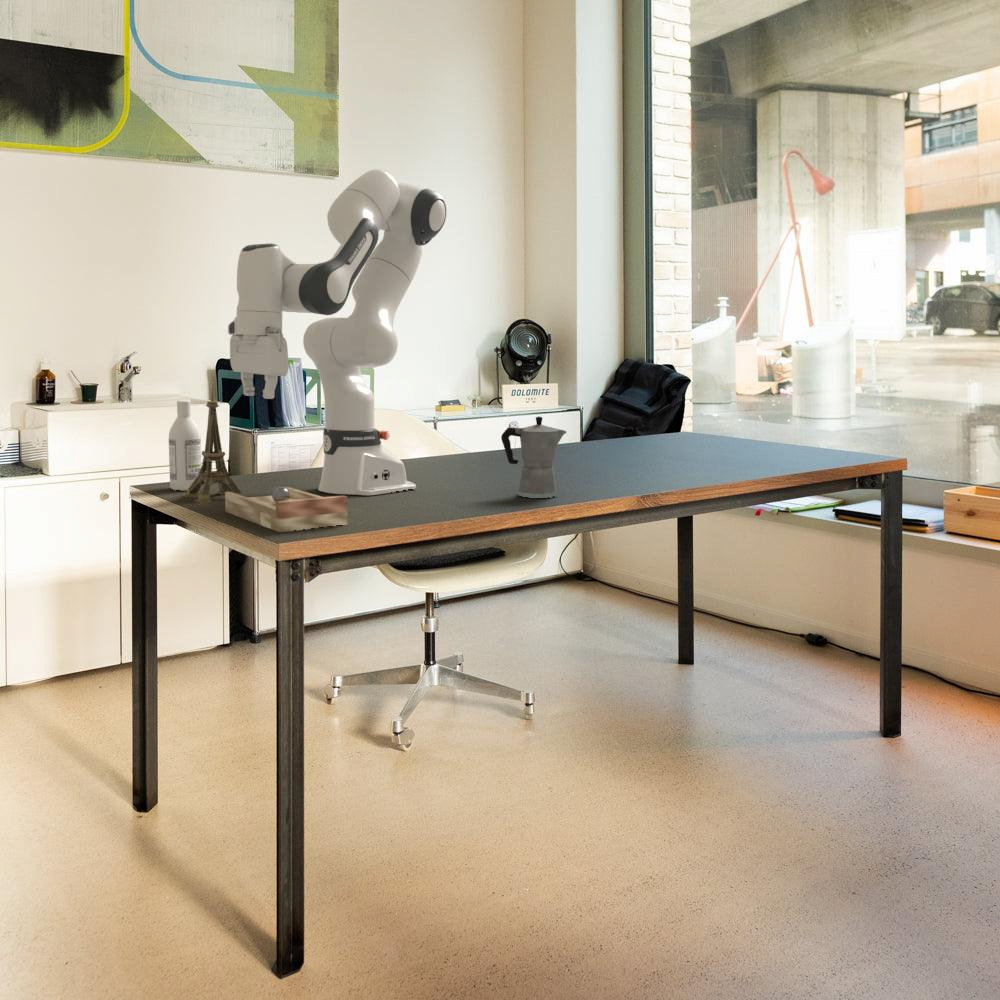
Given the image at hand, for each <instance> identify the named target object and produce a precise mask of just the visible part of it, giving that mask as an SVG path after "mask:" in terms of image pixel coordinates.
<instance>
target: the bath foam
mask: <svg viewBox="0 0 1000 1000" xmlns="http://www.w3.org/2000/svg"><path fill="white" fill-rule="evenodd" d="M191 409H192V407H191V400H187V399H186V400H183V399H182V400H181V399H180V400H177V401H176V413H177V416H176V418H175V420H174V422H172V425H171V427H170V430H169V433H168V460H169V461H168V462H169V464H168V466H169V487H170V489H171V490H172V489H173V490H172V491H176V490H180V491H179V492H187V490H188V489H189V487H190V486H191V484H192V483H193V482H194V480H195V479H196V478H197V476H198V475H199V473H198V471H200V469H201V467H202V437H201V432H200V429H199V427H198V425H197V423H196V422H195V420H194V419H193V418H192V411H191ZM202 488H203V486H202V487H201V488H200V490H202Z"/></svg>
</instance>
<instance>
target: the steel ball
mask: <svg viewBox="0 0 1000 1000" xmlns="http://www.w3.org/2000/svg"><path fill="white" fill-rule="evenodd" d="M285 487H286V486H278V487H276V488H275V489H274V490H273V491H272V493H271V496H272V498H273V501H274V502H275V503H276V501H287V500H289V499H290V492H289V491H288V489H286V488H285Z"/></svg>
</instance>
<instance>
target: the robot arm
mask: <svg viewBox="0 0 1000 1000" xmlns="http://www.w3.org/2000/svg"><path fill="white" fill-rule="evenodd" d="M326 217H327V218H326V219H327V226H328V228H329V231H330V232H331V234H332V236H333V238H334V239H335V240H336V241H337V242H338V243H339V244H340V245H339V247H338V248H337V250H336V252H335V253H334V254H333V256H332V257H331V258H330V259H328V260H326V261H324V262H318V263H296V262H295V261H293V260H292V259H290V258H288V257H287V256H286V255H285V254H284V252H282V251H281V248H280V246H279V245H278V244H276V243H256V244H249V245H246V246H244V247H243V248H242V249H241V250H240V252H239V256H238V261H237V268H236V269H237V270H236V292H237V294H238V301H237V302H238V303H237V307H236V316H235V317H234V319H233V320H232V321H231V322H230V323H229V324H228V326H227V334H228V335H230V338H229V339H230V340H229V358H230V359H229V362H230V367H231V369H232V371H233V372H234V373H235V372H236V373H240V380H241V383H242V386H243V395H244V396H246V397H247V396H248V397H253V396H255V395H256V394H255V390H256V389H255V386H254V383H253V379H254V375H263V376H264V382H265V383H264V384H265V385H264V389H262V397H263V399H267V400H268V399H269V400H273V399H274V398H275V391H276V387H277V385H278V379H279V378H278V377H286V376H287V374H288V372H289V351H288V350H289V349H288V343H287V339H286V338H285V337H284V334H283V312H285V313H296V314H297V313H298V314H299V313H302V314H303V313H304V314H305V313H306V314H315V315H316V314H317V315H323V316H332V315H335V314H337V313H338V312H340V311H341V310H342V309H343V307H344V305H345V304H346V302H347V299H348V297H349V294H350V291H351V295H352V297H353V300H354V301H355V305H354V309H353V311H352V313H351V314H350V315H349V316H347V317H326V318H323V319H319V320H315V321H314V322H312V323H310V324H309V325H308V326H307V328H306V329H305V332H304V334H303V342H302V343H303V348H304V351H305V353H306V355H307V356H308V357H309V359H310V360H311V361H312V362H313V364H314V366H315V368H316V370H317V372H318V376H319V379H320V382H321V385H322V390H323V397H324V420H325V421H324V424H325V425H324V426H325V427H324V428H323V432H322V433H323V440H322V445H323V446H322V447H323V453H324V457H323V466H322V473H321V477H320V478H321V479H320V482H319V485H318V489H317V490H318V491H319V492H323V493H327V494H336V495H357V496H375V495H383V494H384V495H385V494H391V492H392V493H397V492H396V491H399V492H404V491H403V490H406V491H409V490H408V489H413V490H416V489H417V485H416V483H414V482H412V481H408V480H407V473H406V467H405V465H404V462H403V461H402V460H401V459H400V458H398V457H397V456H396V455H395V454H393V453H392V452H391V451H390V450H388V449H387V448H386V447H385V446H383V444H382V441H381V440H384V441H387V440H389V438H390V436H391V435H390V432H389V431H388V430H380V431H379V430H378V429H376V428H375V396H374V393H373V391H372V389H370V387H368V385H367V384H366V383H365V380H364V378H363V376H362V372H361V369H373V368H378V367H382V366H385V365H387V364H389V363H390V362H391V361H393V359H394V357H395V356H396V355H397V354H396V353H397V351H398V345H399V344H398V337H397V334H396V331H395V329H394V320H395V315H396V313H397V310H398V308H399V306H400V304H401V302H402V300H403V298H404V296H405V295H406V293H407V290H408V289H409V287H410V285H411V283H412V282H413V279H414V277H415V276H416V272H417V271H418V267H419V265H420V262H421V258H422V255H423V247H422V246H425V245H427V244H428V243H430V242H431V241H432V239H433V238H435V237H436V236H437V235H438V234H439V233H440V231H441V230H442V228H443V227H444V225H445V223H446V217H447V205H446V202H445V200H444V198H443V196H442V195H441V194H440V193H438V192H436V191H435V190H432V189H430V188H422V187H419V186H417V185H413V184H409V183H403V182H397V180H396V179H395V178H394V176H392V174H390V173H388V172H386V171H385V170H382V169H371V170H368V171H367V172H365V173H363V174H361V175H360V176H359V177H357V178H356V179H355V180H353V182H351V183H350V184H349V185H347V187H346V188H344V190H343V191H342V192H341V193H340V194H339V195H338V196H337V198H336V199H335V200H334V201H332V203H331V205H330V207H329V209H328V212H327V215H326ZM380 230H381V231H384V233H383V237H382V239H381V240H380V242H379V243H378V241H379V236H380V235H379V232H380ZM351 289H352V290H351ZM415 488H416V489H415Z"/></svg>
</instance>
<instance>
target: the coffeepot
mask: <svg viewBox="0 0 1000 1000" xmlns="http://www.w3.org/2000/svg"><path fill="white" fill-rule="evenodd" d="M535 422H536V424H533V425H529V426H526V427H525V426H524V427H514V426H513V427H507V428H506V429H505V430H504V431H503V433H502V434H501V442H502V445H503V448H504V451H505V454H506V458H507V461H508V464H511V465H517V464H518V463H519V460H518V459H514V452H513V450H512V448H511V440H510V437H511V436H514V437H519V440H520V450H521V456H522V457H521V458H522V459H523V464H522V465H523V466H522V470H521V477H520V482H519V488H518V492H522V493H532V494H538V493H539V494H545V493H552V492H556V493H557V489H556V480H555V473H554V467H553V466H554V460H555V453H556V448H557V446H558V444H559V443H560V441H561V439H562V438H563V436H564V435H565V434H567V430H564V429H559V428H555V427H551V426H547V425H544V424H542V423H543V417H542V416H536V417H535Z"/></svg>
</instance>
